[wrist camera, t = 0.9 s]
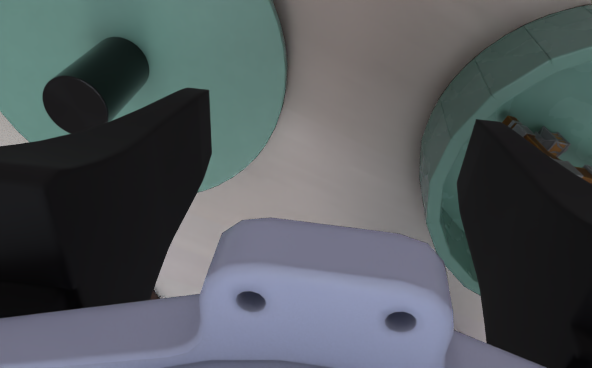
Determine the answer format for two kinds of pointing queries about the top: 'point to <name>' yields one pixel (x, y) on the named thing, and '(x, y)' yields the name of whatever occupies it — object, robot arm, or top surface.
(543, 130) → the wooden post with brackets
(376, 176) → the top surface
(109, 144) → the robot arm
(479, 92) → the tin
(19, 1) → the tin lid
